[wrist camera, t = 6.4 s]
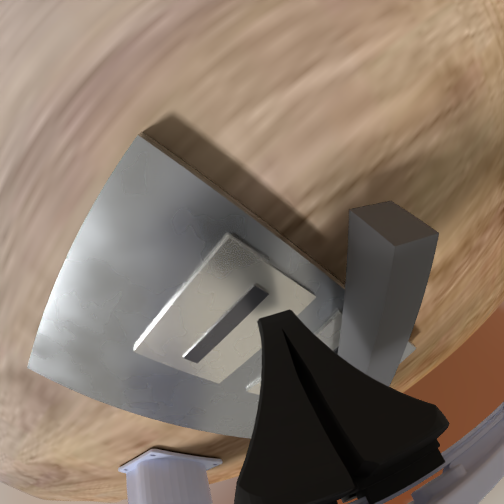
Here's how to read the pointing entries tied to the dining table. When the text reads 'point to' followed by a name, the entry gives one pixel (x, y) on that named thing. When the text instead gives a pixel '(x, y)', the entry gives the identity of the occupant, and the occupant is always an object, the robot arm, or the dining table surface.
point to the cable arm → (383, 286)
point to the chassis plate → (176, 298)
